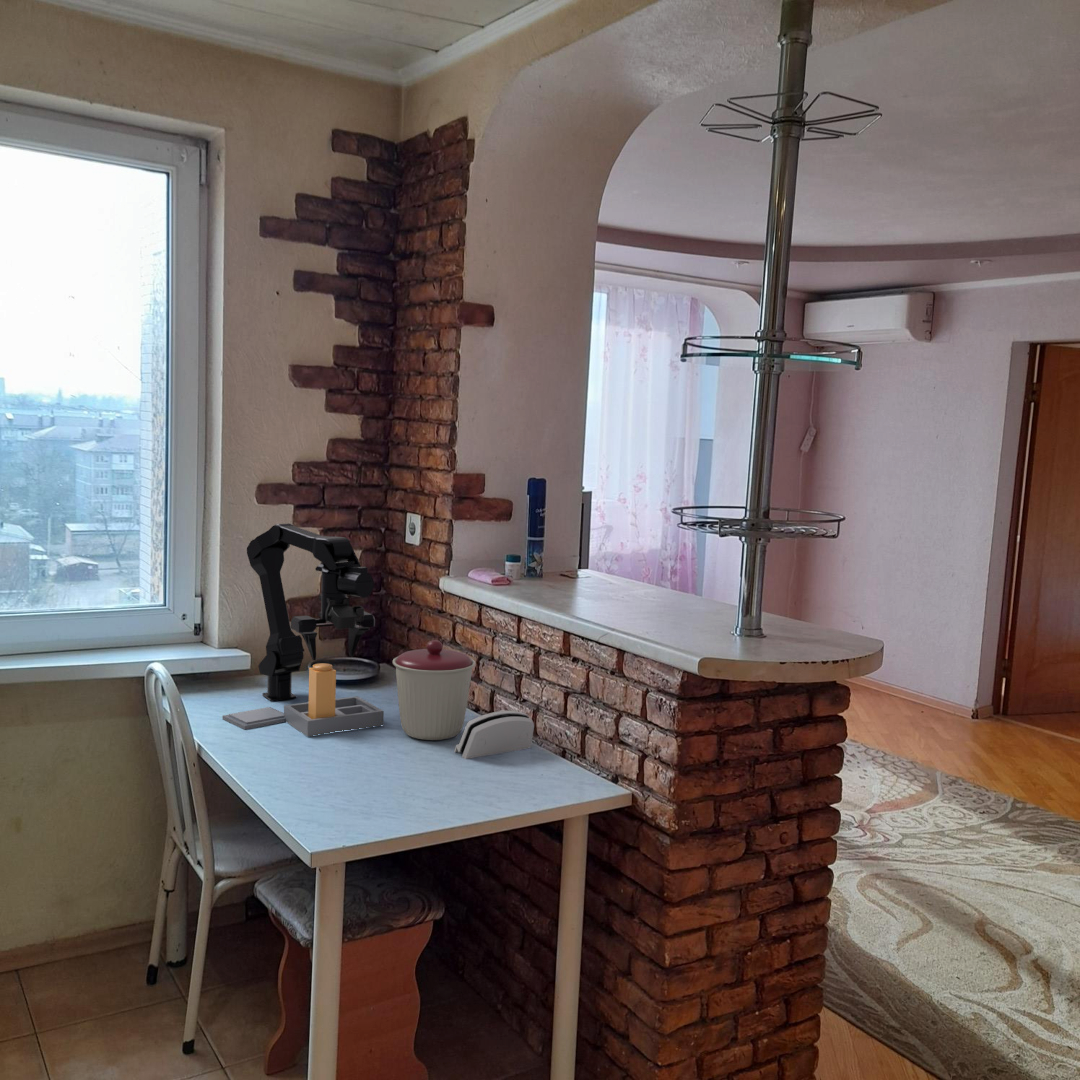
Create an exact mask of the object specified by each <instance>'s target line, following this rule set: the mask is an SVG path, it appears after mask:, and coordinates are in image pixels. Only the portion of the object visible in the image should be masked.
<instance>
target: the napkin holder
mask: <svg viewBox="0 0 1080 1080" xmlns="http://www.w3.org/2000/svg"><path fill="white" fill-rule="evenodd" d="M534 729H535V724H534V721H533V719H532V718H530V716H529V715H528V713H525V712H524V711H517V710H497V711H494V712H490V713H486V714H482V715H480V716H478V717H475V718H473V719H470V720H469V721H468V722H467V723H466V725H465V728H464V731H463V733H462V736H461V738H460V741H459V744H455V748H454V751H453V752H454V753H462V755H461V757H462V758H463V759H465V760H467V759H473V758H478V757H479V758H480V757H484V756H489V755H490V756H492V755H496V754H502V753H508V752H514V751H519V750H525V749H531V748H532V743H533V736H534Z"/></svg>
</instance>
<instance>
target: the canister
mask: <svg viewBox="0 0 1080 1080" xmlns="http://www.w3.org/2000/svg"><path fill="white" fill-rule="evenodd" d="M392 665H393V666H394V667H395V676H396V686H397V699H398V700H397V701H398V707H399V708H398V710H399V718H400V724H401V728H402V730H403V732H404V733H405V734H406V735H408V736H409V737H411V738H413V739H418V740H422V741H423V740H424V741H442V740H448V739H451V738H453V737H456V736H458V735H459V733H460V732H461V731H462V729H463V726H464V723H465V718H466V712H467V707H468V700H469V693H470V687H471V679H472V672H473V670H472V669H473V668H474V667H475V666H476V661H475V660H474V659H473V658H472V657H470V656H469V655H467V654H466V653H463V652H462V651H458V650H454V649H453V650H452V649H447V648H446V649H444V646H443V643H442V642H441V641H440V640H436V639H434V640H433V639H432V640H430V641H428V642H427V644H426V648H419V649H413V650H408V651H405V652H403V653H401V654H400V655H398V656H396V657H394V658H393V660H392Z"/></svg>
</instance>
